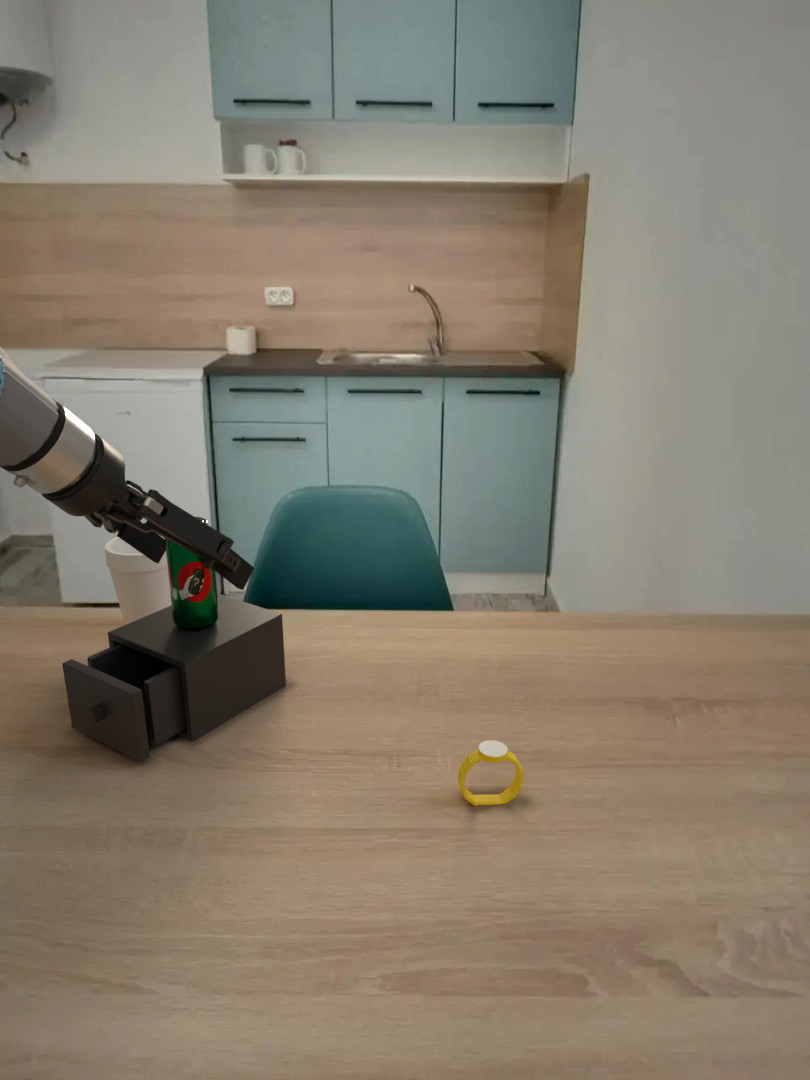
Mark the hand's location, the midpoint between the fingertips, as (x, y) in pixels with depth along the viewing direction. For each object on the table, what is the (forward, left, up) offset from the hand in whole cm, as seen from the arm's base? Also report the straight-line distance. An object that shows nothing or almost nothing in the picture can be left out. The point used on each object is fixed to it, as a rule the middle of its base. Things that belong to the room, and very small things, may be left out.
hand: (202, 565), depth 93 cm
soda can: (0, -2, -7) cm, 7 cm away
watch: (+37, 0, -16) cm, 41 cm away
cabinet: (0, -2, -16) cm, 16 cm away
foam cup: (-19, +6, -16) cm, 26 cm away
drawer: (0, -9, -15) cm, 18 cm away
